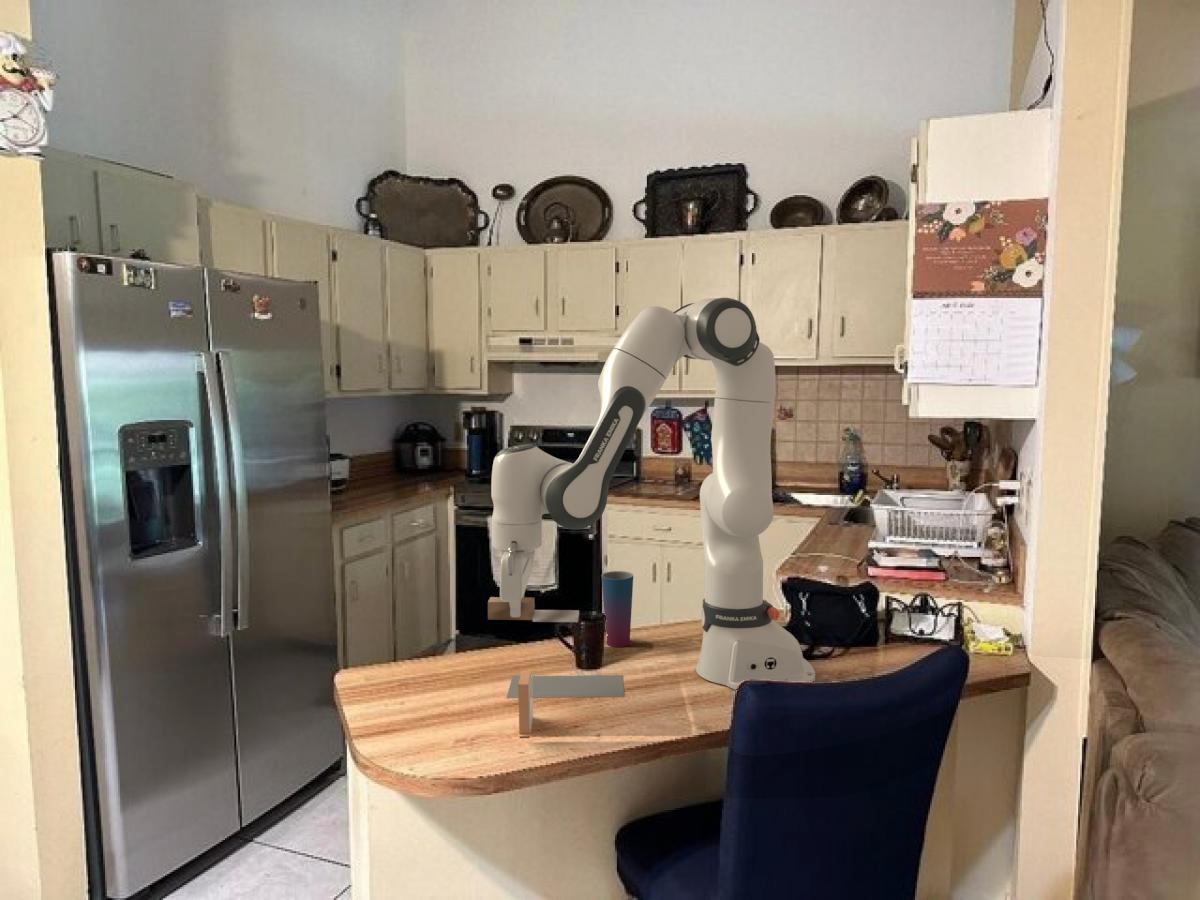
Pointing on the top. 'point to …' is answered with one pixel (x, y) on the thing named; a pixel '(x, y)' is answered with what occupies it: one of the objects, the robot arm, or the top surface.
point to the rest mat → (572, 686)
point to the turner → (528, 612)
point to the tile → (525, 702)
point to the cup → (617, 606)
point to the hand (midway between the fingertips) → (517, 612)
